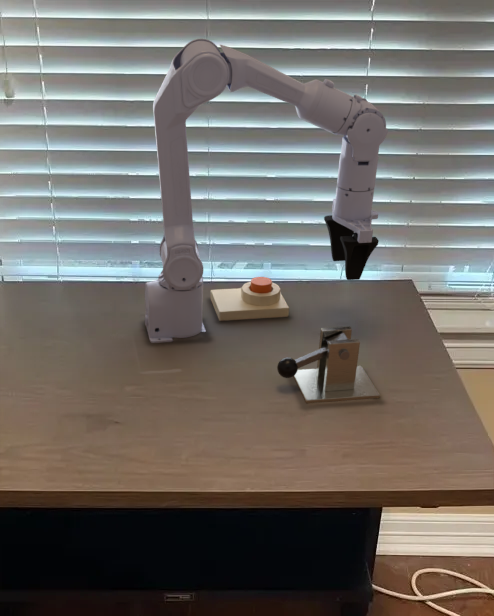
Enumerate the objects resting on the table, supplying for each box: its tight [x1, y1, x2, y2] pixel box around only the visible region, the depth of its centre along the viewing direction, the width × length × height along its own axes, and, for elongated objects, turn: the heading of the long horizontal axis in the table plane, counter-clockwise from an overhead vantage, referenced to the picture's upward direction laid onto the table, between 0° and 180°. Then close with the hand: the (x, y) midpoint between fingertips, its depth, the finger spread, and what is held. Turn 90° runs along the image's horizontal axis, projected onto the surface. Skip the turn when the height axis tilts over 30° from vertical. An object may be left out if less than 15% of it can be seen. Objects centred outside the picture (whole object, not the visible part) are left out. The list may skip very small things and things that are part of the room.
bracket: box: [292, 326, 381, 404], centre depth 135 cm, size 11×9×9 cm
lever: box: [276, 333, 348, 379], centre depth 134 cm, size 11×3×3 cm, turn 98°
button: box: [250, 276, 273, 293], centre depth 158 cm, size 4×4×2 cm
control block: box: [209, 281, 290, 322], centre depth 159 cm, size 12×9×4 cm
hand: (345, 269), depth 149 cm, fingers open, 7 cm apart
